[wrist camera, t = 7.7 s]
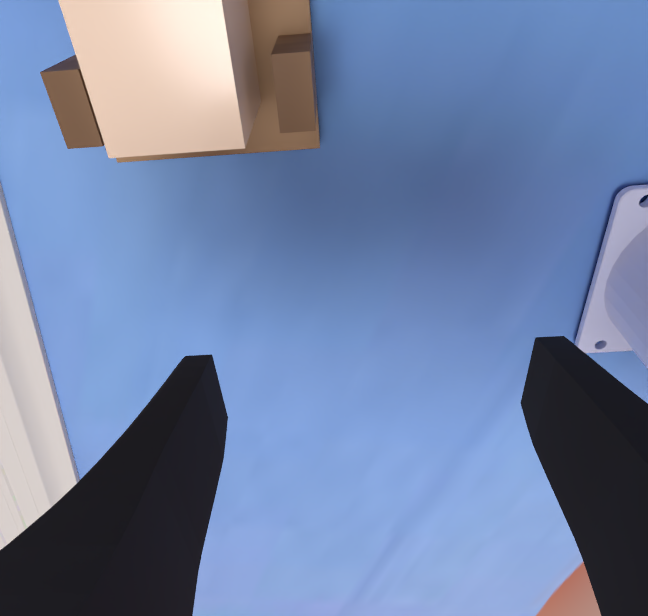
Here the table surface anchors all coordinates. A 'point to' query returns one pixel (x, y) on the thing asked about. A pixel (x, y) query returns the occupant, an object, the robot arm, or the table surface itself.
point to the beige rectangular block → (167, 73)
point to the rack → (273, 76)
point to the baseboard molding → (26, 404)
